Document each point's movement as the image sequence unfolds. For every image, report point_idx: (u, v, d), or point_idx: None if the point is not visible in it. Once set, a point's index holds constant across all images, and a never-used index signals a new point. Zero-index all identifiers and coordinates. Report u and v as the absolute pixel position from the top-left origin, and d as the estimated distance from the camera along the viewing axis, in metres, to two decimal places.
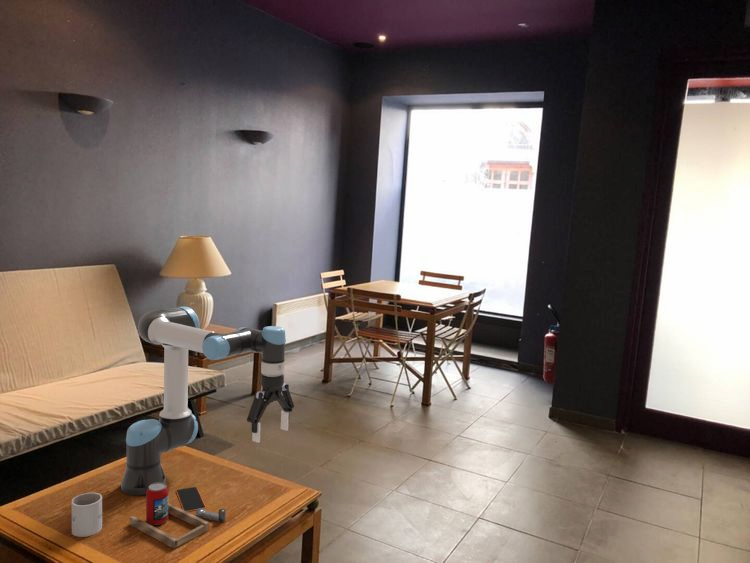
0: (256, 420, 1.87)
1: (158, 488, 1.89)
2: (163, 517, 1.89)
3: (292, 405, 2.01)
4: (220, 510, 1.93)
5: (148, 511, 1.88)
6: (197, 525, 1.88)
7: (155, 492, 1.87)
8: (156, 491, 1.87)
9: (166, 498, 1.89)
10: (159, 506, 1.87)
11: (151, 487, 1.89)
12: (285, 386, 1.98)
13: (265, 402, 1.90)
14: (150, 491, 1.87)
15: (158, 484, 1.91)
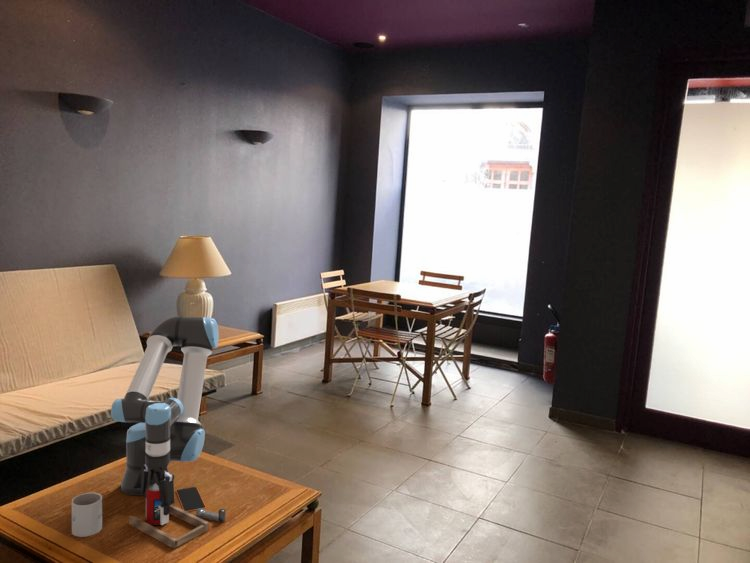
0: (144, 494, 1.92)
1: (157, 488, 1.89)
2: None
3: (166, 502, 1.86)
4: (220, 510, 1.93)
5: (148, 511, 1.88)
6: (197, 525, 1.88)
7: (155, 492, 1.87)
8: (156, 491, 1.87)
9: None
10: (159, 505, 1.87)
11: (151, 487, 1.89)
12: None
13: None
14: (150, 491, 1.87)
15: None
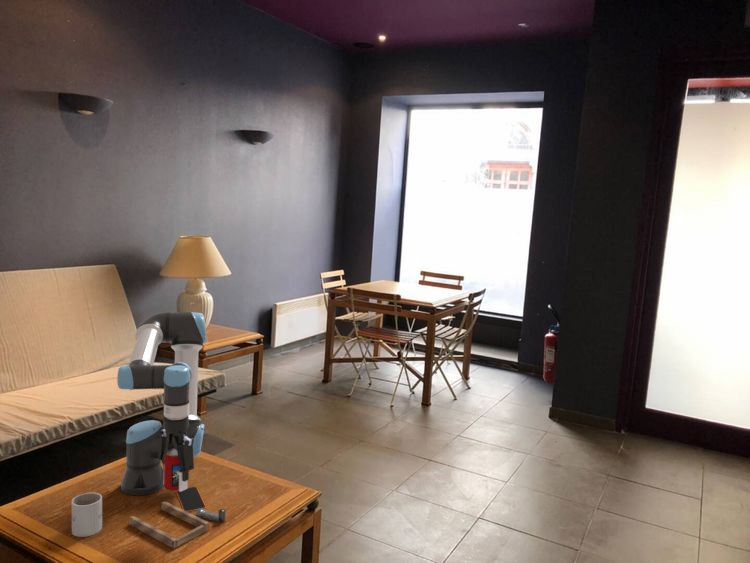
0: (162, 460, 1.85)
1: (176, 453, 1.82)
2: None
3: (185, 467, 1.79)
4: (220, 510, 1.93)
5: (166, 477, 1.81)
6: (197, 525, 1.88)
7: (174, 457, 1.80)
8: (175, 456, 1.80)
9: None
10: (177, 471, 1.81)
11: (169, 452, 1.82)
12: None
13: None
14: (168, 456, 1.81)
15: None
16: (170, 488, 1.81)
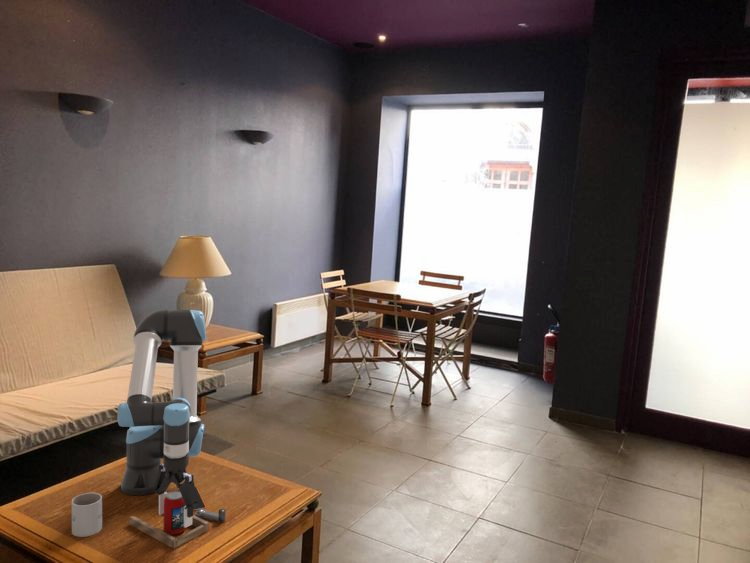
0: (158, 490, 1.88)
1: (175, 496, 1.84)
2: (181, 526, 1.84)
3: (190, 504, 1.79)
4: (220, 510, 1.93)
5: (166, 520, 1.83)
6: (197, 525, 1.88)
7: (173, 501, 1.82)
8: (174, 499, 1.82)
9: None
10: (177, 515, 1.82)
11: (169, 495, 1.84)
12: None
13: None
14: (168, 500, 1.82)
15: (176, 492, 1.86)
16: (170, 531, 1.83)
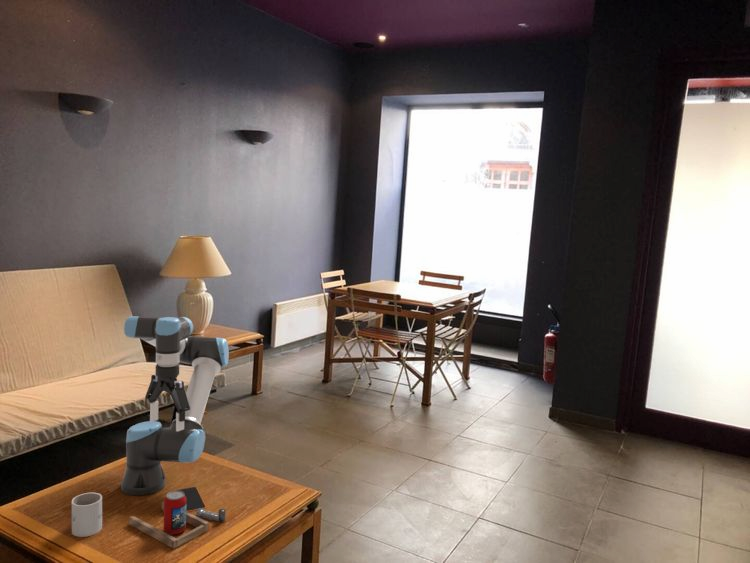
0: (149, 398, 2.00)
1: (175, 496, 1.84)
2: (181, 526, 1.84)
3: (182, 408, 1.91)
4: (220, 510, 1.93)
5: (166, 520, 1.83)
6: (197, 525, 1.88)
7: (173, 501, 1.82)
8: (174, 499, 1.82)
9: (184, 507, 1.84)
10: (177, 515, 1.82)
11: (169, 495, 1.84)
12: None
13: None
14: (168, 500, 1.82)
15: (176, 492, 1.86)
16: (170, 531, 1.83)
